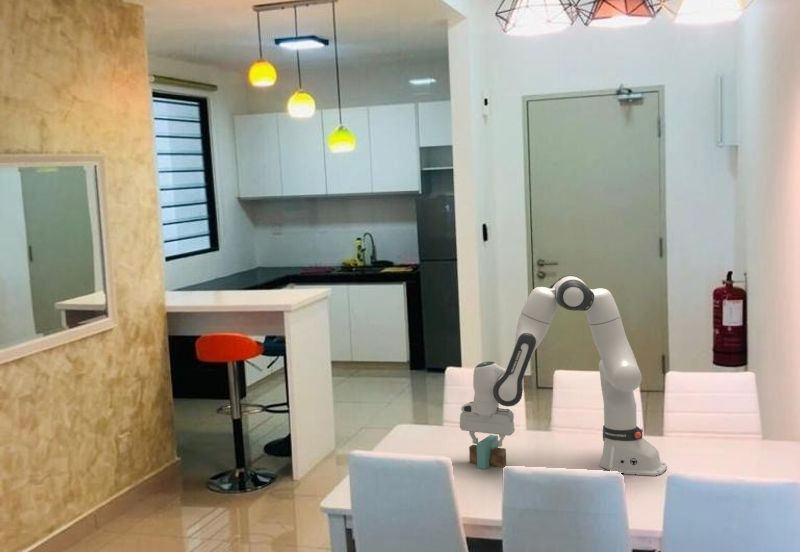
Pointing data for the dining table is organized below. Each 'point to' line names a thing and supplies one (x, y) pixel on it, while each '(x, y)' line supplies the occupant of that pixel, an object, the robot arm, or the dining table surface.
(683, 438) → the dining table surface
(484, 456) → the cross plate
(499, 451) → the stand plate
